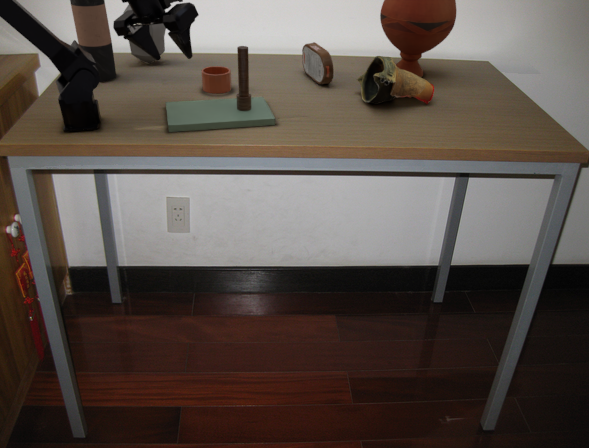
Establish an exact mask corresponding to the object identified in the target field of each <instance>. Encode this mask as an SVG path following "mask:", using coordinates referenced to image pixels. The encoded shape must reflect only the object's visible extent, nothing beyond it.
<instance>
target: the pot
mask: <svg viewBox="0 0 589 448" xmlns="http://www.w3.org/2000/svg"><path fill="white" fill-rule="evenodd" d="M356 81H357V82H358V84H359V85H360V89H361V90H360V93H361V99H362V101H364V102H365V103H370V104H374V105H377V104H381V103H386V102H389V101H390V102H392V101H394V100H395V98H397V99H398V98H405V97H408V98H409V99H411V98H412V97H413V98H415V99H416V100H418V101H420V102H423V103H425V104H426V105H428V104H429V102H431V101H432V99H433V97H434V94H435V86H434V84H433V83H431V82H429V81H428V80H426V79H425V78H422V77H419V76H417V75H415V74H413V73H411V72H408V71H406V70H402V69H399V68H398V67H397V66H396V63H395V61H394V59H393V57H390V56H383V55H377V56H375V57H374V58H373V59H372V61H371V62H370V64H369V65H368V67H367V69H366V71H365V72H364V74H362V75H360V76H359V77H358V78H357V79H356Z"/></svg>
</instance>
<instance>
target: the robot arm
mask: <svg viewBox="0 0 589 448" xmlns="http://www.w3.org/2000/svg"><path fill="white" fill-rule="evenodd" d="M121 2H122V3H123V4H125V3H127V4H128V5H130V7H131V9H132V10H127V11H126V12H125V13H122V14H121V15H120V16H118V17H117V18H116V19H115V20H113V24H112V25H113V26H112V27H113V31H114V32H115V33H116V35H117V37H123V39H124V40H127V41H128V42H129V41H130V42H132V43H133V44H135V45H136V46H138V47H139V48H141V49H142V50H143V51H145V52H146V53H147V54H149V55H150V56H151V57H153V58H154V59H155V61H157V62H158V61H160V60H161V59H162V58H161V55H160V54H159V51H158V49H157V47H156V45H155V43H154V41H153V39H152V37H151V34H150V25H154V24H164V26H165V28H166V30H167V31H169V32H167V35H168V37H169V38H170V39H171V40H172V42H173V43H174V44H175V45H176V46H177V48H178V49H179V50H180V51H181V53H182V54H183V55H184V56H185V57H186V58H187V59H188V60H191V59H192V58H193V56H194V55H193V47H192V40H191V27H192V24H194V22H195V21H196V19H197V18H198V17H199V15H200V14H199V12H198V11H197V8H196V6H195V4H194V3H192V2H184V0H121ZM176 2H177V3H176ZM173 3H176V4H175V5H174V6H172V4H173ZM169 8H170V9H169ZM167 9H168V11H166V10H167ZM0 18H1V19H2V20H3V21H4V22H6V24H8V25H9V26H11V27H12V28H13V29H14V30H15V31H16V32H18V33H19V34H20V35H21V36H22V37H23V38H25V39H26V40H27V41H28V42H29V43H30V44H31V45H33V46H34V47H35V48H36V49H37V50H39V51H40V52H41V53H42V54H43V55H45V56H46V57H47V58H48V59H49V61H50V62H51V63H52V65H53V66H54V67H55V69H57V71H58V72H59V73H60V74H59V76H58V77H57V79H56V80H55V83H56V87H57V90H58V93H59V95H58V98H57V101H58V105H59V109H60V113H61V118H62V121H63V128H62V130H63V132H65V133H67V132H68V133H69V132H82V131H97V130H99V126H100V124H101V122H102V116H101V114H102V113H101V110H100V105H99V101H98V99H95V95H94V90H96V89H97V87H98V86H99V85H100V83H101V82H100V74H99V72H98V70H97V68H96V66H95V65H96V63H95V61H94V59H93V57H92V55H91V54H90V53H87V52H86V51H84V50H83V49H82V48H81V47H80V45H79V43H78V41H77V40H75V39H74V40H73V41H72V42H71V44H69V43H67V42H65V41H63V40H62V39H61V38H59V37H58V36H57V35H55V33H53V32H52V31H51V30H50V29H49V28H48V27H47V26H46V25H44V24H43V23H42V21H40V20H39V19H38V18H37V17H35V16H34V15H33V14H32V13H31V12H30V11H29V10H28V9H27V8H25V7H24V6H23V5H22V4H21V2H19V1H18V0H0ZM158 18H159V19H158Z"/></svg>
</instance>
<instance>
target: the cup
mask: <svg viewBox="0 0 589 448" xmlns="http://www.w3.org/2000/svg"><path fill="white" fill-rule="evenodd" d="M200 74H201V86H202V91H203V92H205V93H207V94H214V95H217V94H218V95H219V94H220V95H221V94H226V93H229V92H231V90H232V89H233V88H232V71H231V68H230V67H226V66H224V65H223V66H222V65H221V66H220V65H211V66H206V67H203V68H202V69H201V71H200Z"/></svg>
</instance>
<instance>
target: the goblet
mask: <svg viewBox="0 0 589 448" xmlns="http://www.w3.org/2000/svg"><path fill="white" fill-rule="evenodd" d="M380 8H381V9H380V16H379V19H380V24H381V28H382V30H383V33H384V35H385V36H386V39H388V41H389V42H390V44H392V46H393V47H395V48H396V49H397V50H398V51H399V56H400V58H401V59H400V60H399V61H398V62H397V63H395V65H396V66H397V67H398V68H399V69H402V70H406V71H408V72H411V73H413V74H415V75H417V76H419V77H421V78H422V77H423V76H424V70H423V68H422V66H421V64H420V62H419V60H420V59H421V58H422V55H423V54H424V53H427V52H429V51H431V50H433V49H435V48H436V47H437V46H438V45H440V44H441V43H443V42H444V40H446V39H447V38H448V36H449V35H450V34H451V32H452V30H453V29H454V26H455V24H456V19H457V1H456V0H383V2H382V5H381V7H380Z"/></svg>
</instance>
